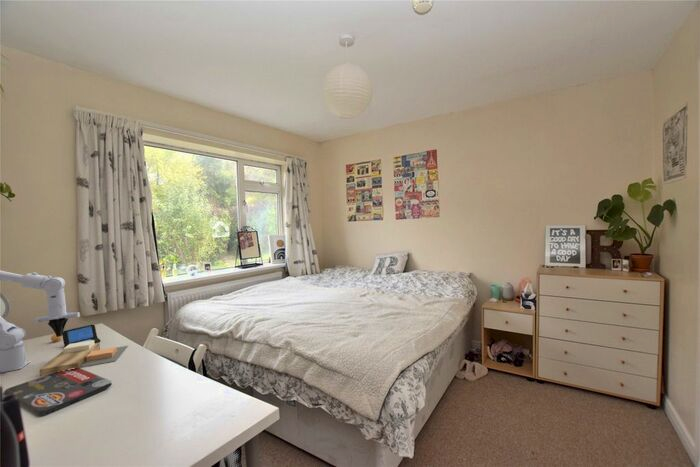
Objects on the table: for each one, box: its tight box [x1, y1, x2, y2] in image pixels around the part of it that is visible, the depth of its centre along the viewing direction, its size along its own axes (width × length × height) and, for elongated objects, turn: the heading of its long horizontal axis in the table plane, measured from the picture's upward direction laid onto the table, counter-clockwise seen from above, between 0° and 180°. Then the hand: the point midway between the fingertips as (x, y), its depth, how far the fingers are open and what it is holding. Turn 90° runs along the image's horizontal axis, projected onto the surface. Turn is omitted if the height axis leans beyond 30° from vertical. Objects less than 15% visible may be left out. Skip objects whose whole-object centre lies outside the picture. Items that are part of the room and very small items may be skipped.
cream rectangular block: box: [62, 340, 96, 353], centre depth 137 cm, size 9×6×2 cm, turn 112°
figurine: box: [50, 333, 63, 343], centre depth 155 cm, size 8×6×12 cm
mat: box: [79, 345, 129, 369], centre depth 134 cm, size 12×17×1 cm
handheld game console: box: [62, 324, 101, 348], centre depth 150 cm, size 12×11×7 cm
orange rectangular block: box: [86, 346, 118, 361], centre depth 133 cm, size 9×6×2 cm, turn 112°
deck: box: [38, 342, 101, 377], centre depth 131 cm, size 12×22×2 cm, turn 22°
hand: (59, 335), depth 134 cm, fingers closed
